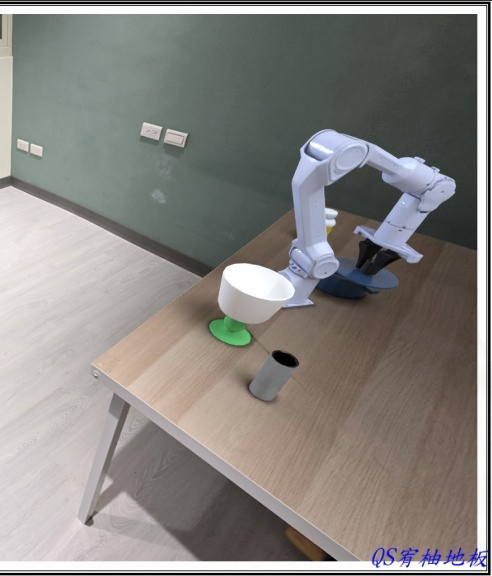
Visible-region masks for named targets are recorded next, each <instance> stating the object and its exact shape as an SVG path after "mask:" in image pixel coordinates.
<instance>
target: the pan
mask: <svg viewBox="0 0 492 576" xmlns="http://www.w3.org/2000/svg"><path fill="white" fill-rule="evenodd" d="M335 258H336V259H338V258H339V257H335ZM315 287H317V288H318V289H319V290H321V291H323V292H325V293H327V294H330V295H333V296H335V297H339V298H340V297H345V298H346V297H347V298H361V297H363V296H364V295H366V294H368V295H377V294H379V293H380V292H381V289H375V288H370V287H366V286H363V285H359V284H357V283H354V282H352V281H349V280H347V279H345V278H344V277H342V276H340V275H339V274H338V273H336V272H335V273H333V274H332V275H331V276H329V277H326V278H324V279H320V281H319V282H318V284H317V285H316V286H315Z"/></svg>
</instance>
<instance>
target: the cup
mask: <svg viewBox="0 0 492 576" xmlns="http://www.w3.org/2000/svg"><path fill="white" fill-rule="evenodd" d="M277 272H278V271H275V270H273V269H271V268H267V267H265V266H262V265H258V264H252V263H244V262H243V263H233V264H231V265H227V266H226V267H225V268H224V270H223V271H222V276H221V281H220V286H219V287H220V288H219V292H218V297H217V302H218V306H219V309H220V310H221V311H222V313H223V314H224V315H226V316H225V317H224V319H223V318H222V319H221V318H220V319H215V320H213V321H211V322H210V324H209V326H208V327H209V331H210V333H212V335H213V336H214V337H215V338H217V339H218V340H219V341H221V342H223V343H225V344H227V345H232V346H236V347H239V346H246V345H248V344H249V343H250V342H251V339H252V337H251V334H250V332H249V331H248V330H247V329H246V327H247V324H248V325H259V324H262V323H264V322H266V321H268V320H270V319H271V318H272V317H273V316H274V315H275V314H276V313H277V312H278V311H279V310H281V308H283V307H282V306H283V305H284V304H286V303H287V302H288V301H289V300H290V299H291V298H292V297H293V295H294V292H295V289H294V287H293V286H292V284H291V282H290V281H288V280H287V279H286V278H285V277H284V276H282V275H280V274H278V273H277Z"/></svg>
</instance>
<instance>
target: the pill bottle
mask: <svg viewBox="0 0 492 576" xmlns="http://www.w3.org/2000/svg"><path fill="white" fill-rule="evenodd" d="M338 214H339V212H338V211H337V210H335V209H332V208H328V207H325V215H326V233H327V238H328V237H329V235H330V234H331V233H332V230H333V229H334V227H335V226H336V224H337V222H336V219H335V218H337V216H338Z"/></svg>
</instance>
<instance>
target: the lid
mask: <svg viewBox="0 0 492 576" xmlns="http://www.w3.org/2000/svg"><path fill="white" fill-rule="evenodd" d="M337 258H338V259H337V260H338V261H339V267H338V269H337V270H336V273H338V274H339V275H340V276H342V277H344V278H345V279H347V280H349V281H352V282H354V283H357V284H359V285H363V286H366V287H370V288H375V289H378V290H392V289H395V288H397V287H398V286H399V284H400V281H399V279H398V278H397V276H396V275H395V274H393V273H392V272H391V271H389V270H388V269H386V268H385V267H384V268H383V269H381V270H380V271H379V272H378V273H376V274H375V275H367V274H366V272H367V270H368V269H369V268H370V266H371V265H372V264H373V262H374V260H375V258H367V259H366V261H365V262H364V263H363V265H362V266H361V268H360V269H357V268H355V267H356V264H357V261H358V258H354V257H353V258H351V257H337Z"/></svg>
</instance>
